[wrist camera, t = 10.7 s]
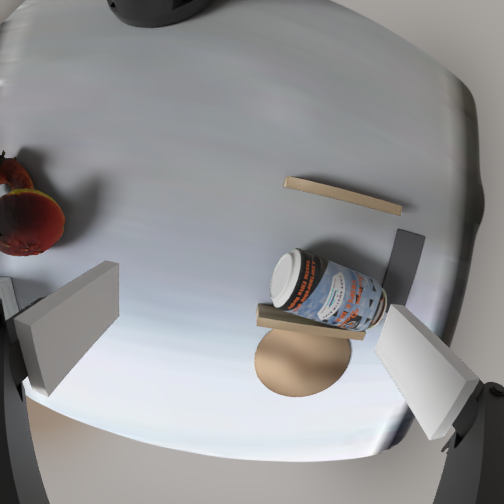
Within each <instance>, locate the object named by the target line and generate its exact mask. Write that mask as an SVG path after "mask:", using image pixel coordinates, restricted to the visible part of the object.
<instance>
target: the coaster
mask: <svg viewBox="0 0 504 504" xmlns="http://www.w3.org/2000/svg"><path fill="white" fill-rule="evenodd" d="M349 358H350V346H349V342H348V340H347V339H346V338H337V337H329V336H321V335H314V334H306V333H299V332H293V331H286V330H279V329H272V330H271V331H270V332H268V333H267V334H266V335H265V337H264V338H263V339H262V340H261V342H260V343H259V345H258V347H257V350H256V353H255V370H256V373H257V376H258V378H259V379H260V381H261V382H262V383H263V384H264V385H265V386H266V387H267V388H268V389H270V390H271V391H273V392H275V393H278V394H280V395H284V396H289V397H304V396H309V395H313V394H316V393H319V392H321V391H323V390H325V389H327V388H328V387H330V386H331V385H332V384H334V383H335V382H336V381H337V380H338V379H339V378H340V377H341V375H342V374H343V373H344V371H345V369H346V367H347V365H348V362H349Z"/></svg>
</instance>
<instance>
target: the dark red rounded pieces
mask: <svg viewBox="0 0 504 504" xmlns="http://www.w3.org/2000/svg"><path fill="white" fill-rule="evenodd" d="M4 155H5V152H4V150H3V152H2V155H0V184H8V185H9V186H10V188H11V189H12V192H10V193H8V194H6V195H3V196H2V197H0V251H1V252H3V253H5V254H8V255H12V256H29V255H38V254H39V253H43V252H44V251H46V250H48V249H49V248H50V247H51V246H52V245H53V244H54V243H56V242H57V241H58V240H59V239H60V238H61V236H62V235H63V232H64V227H63V226H64V224H65V216H64V214H63V212H62V210H61V208H60V207H59V205H58V204H57V203H56V202H55V201H54V200H53V199H52V198H51V197H50V196H48V195H47V194H45V193H42V192H41V191H38V190H34V186H33V182H32V180H31V178H30V176H29V174H28V172H27V171H26V170H25V169H24V167H23V166H22V165H20V164H19V163H18V162H17V161H16V160H17V159H16V157H15V158H14V159H12V158H5V157H4Z"/></svg>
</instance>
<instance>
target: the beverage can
mask: <svg viewBox="0 0 504 504" xmlns="http://www.w3.org/2000/svg"><path fill="white" fill-rule="evenodd" d="M270 297H271V299H272V300H273V305H274V307H275V308H276V309H278V310H281V311H285V312H288V313H291V314H295V315H298V316H301V317H305V318H308V319H312V320H315V321H318V322H322V323H325V324H329V325H333V326H336V327H340V328H343V329H347V330H351V331H355V332H361V331H364V330H366V329H371V328H374V327H375V326H376V325H378V323H379V322H380V321H381V319H382V318H383V316H384V314H385V311H386V307H387V295H386V292H385V290H384V289H383V288H382V287H381V286H380V284H379V283H378V281H377V280H375V279H374V278H372V277H369V276H367V275H364V274H362V273H359V272H357V271H354V270H352V269H349V268H347V267H344V266H342V265H339V264H337V263H334V262H332V261H329V260H327V259H324V258H322V257H319V256H317V255H314V254H312V253H309V252H307V251H304V250H301V249H298V248H296V249H293V250H292V251H290V252H289V253H286V254H285V255H283V256H282V258H281V259H280V260H279V262H278V264H277V266H276V268H275V270H274V272H273V275H272V279H271V283H270Z"/></svg>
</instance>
